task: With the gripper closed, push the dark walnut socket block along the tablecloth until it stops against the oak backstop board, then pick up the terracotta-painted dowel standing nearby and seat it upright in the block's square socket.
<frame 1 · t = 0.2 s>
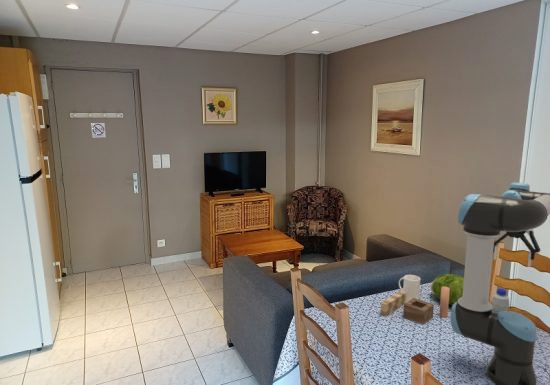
hand: (511, 262, 179), 28 cm above the table, fingers open, 13 cm apart
backstop: (393, 308, 194), on the table
bottle: (497, 332, 172), on the table
block: (418, 310, 185), point 3 cm above the table, slide at 0.0 cm
dowel: (443, 315, 187), on the table
lettuce: (449, 302, 202), on the table
mug: (408, 298, 206), on the table
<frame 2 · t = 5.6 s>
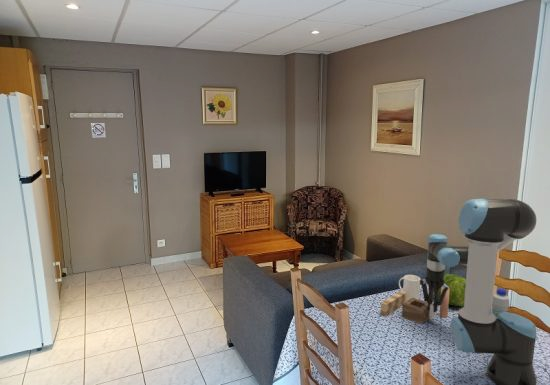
hand: (432, 317, 181), 2 cm above the table, fingers closed
block: (416, 310, 185), point 3 cm above the table, slide at 0.7 cm, touching gripper
everything else where it was.
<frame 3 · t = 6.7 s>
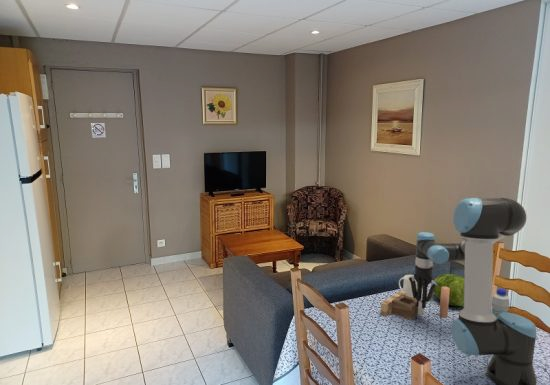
hand: (420, 313, 184), 2 cm above the table, fingers closed
block: (406, 306, 189), point 3 cm above the table, slide at 6.0 cm, touching backstop, gripper
everything else where it was.
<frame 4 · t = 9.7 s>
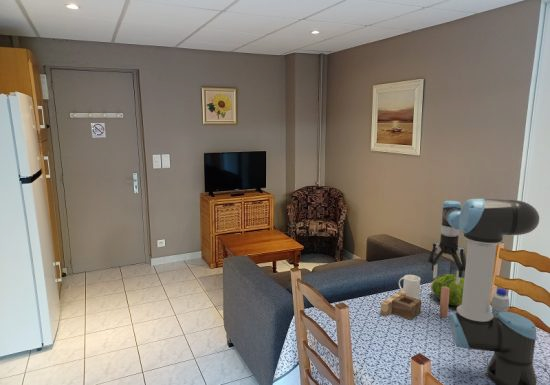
hand: (446, 280, 184), 18 cm above the table, fingers open, 10 cm apart
block: (406, 306, 189), point 3 cm above the table, slide at 6.0 cm
everything else where it was.
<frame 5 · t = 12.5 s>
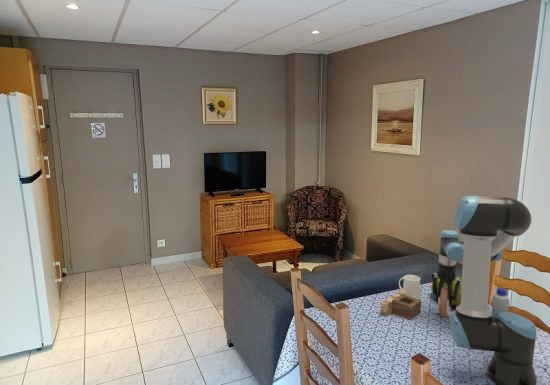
hand: (443, 310, 186), 3 cm above the table, fingers closed on dowel, 3 cm apart
dowel: (443, 315, 187), on the table, touching gripper
everything else where it was.
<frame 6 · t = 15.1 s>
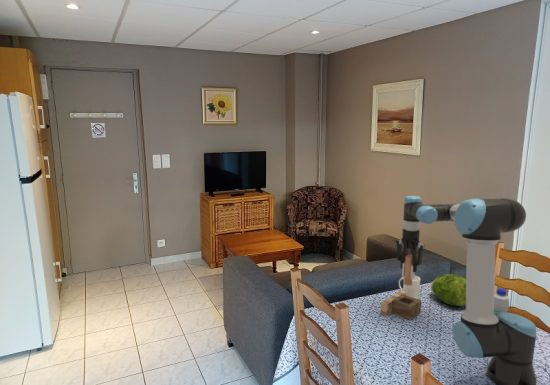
hand: (408, 276, 186), 18 cm above the table, fingers closed on dowel, 3 cm apart
dowel: (407, 284, 187), point 15 cm above the table, touching gripper
everything else where it was.
when the fingers open (8 cm above the table, at t = 17.6 s): dowel drops 3 cm, resting on block.
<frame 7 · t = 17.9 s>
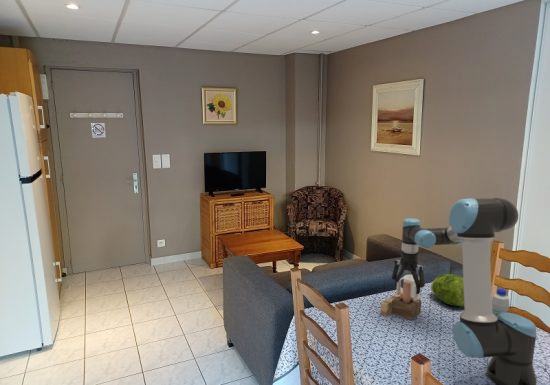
hand: (406, 296, 188), 8 cm above the table, fingers open, 8 cm apart
block: (406, 306, 189), point 3 cm above the table, slide at 6.0 cm, touching dowel
dowel: (406, 311, 189), point 1 cm above the table, touching block
everything else where it was.
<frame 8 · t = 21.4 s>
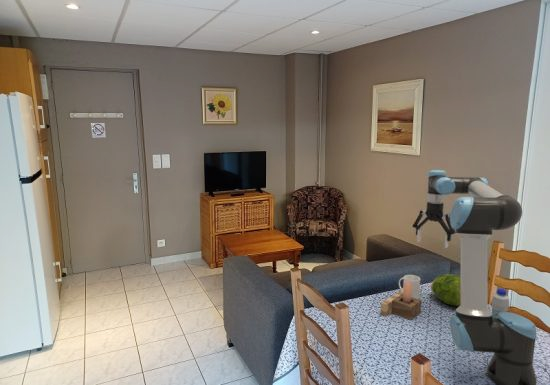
hand: (432, 244, 193), 32 cm above the table, fingers open, 13 cm apart
nothing on the table moved.
at the end: block slide at 6.0 cm; dowel 0.1 cm off-centre on the block, point 1.0 cm above the block's base; dowel tilted 0° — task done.
